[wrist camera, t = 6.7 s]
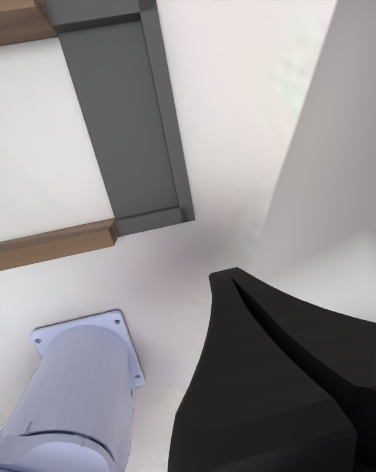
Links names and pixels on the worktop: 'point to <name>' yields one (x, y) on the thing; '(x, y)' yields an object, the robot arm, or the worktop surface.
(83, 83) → the tray
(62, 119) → the worktop surface
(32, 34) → the corridor
